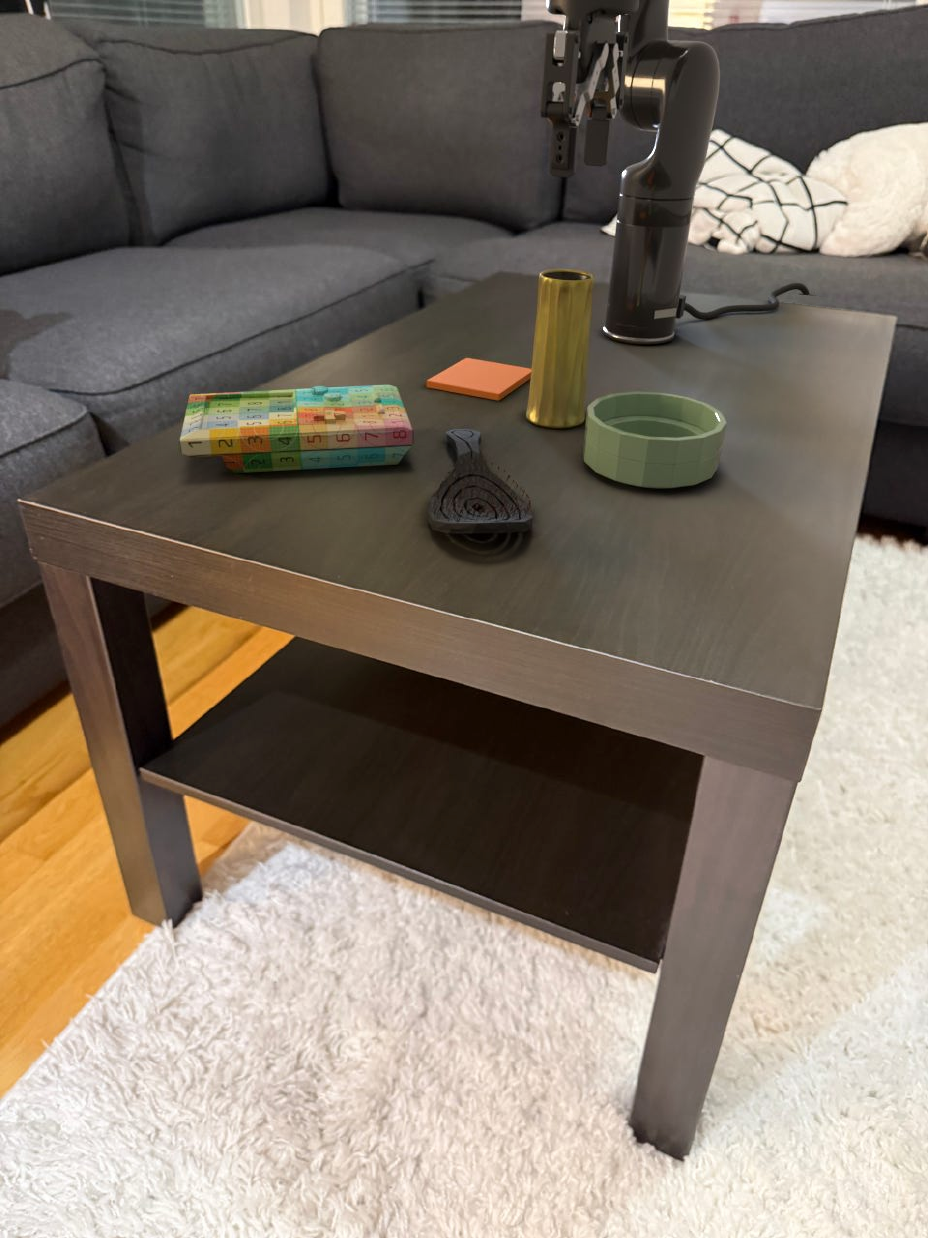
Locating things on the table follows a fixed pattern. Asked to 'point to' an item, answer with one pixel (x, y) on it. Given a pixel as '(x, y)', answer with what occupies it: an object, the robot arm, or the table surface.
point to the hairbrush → (476, 494)
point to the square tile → (480, 378)
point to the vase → (560, 349)
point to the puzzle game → (298, 428)
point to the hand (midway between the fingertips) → (579, 170)
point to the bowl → (653, 439)
